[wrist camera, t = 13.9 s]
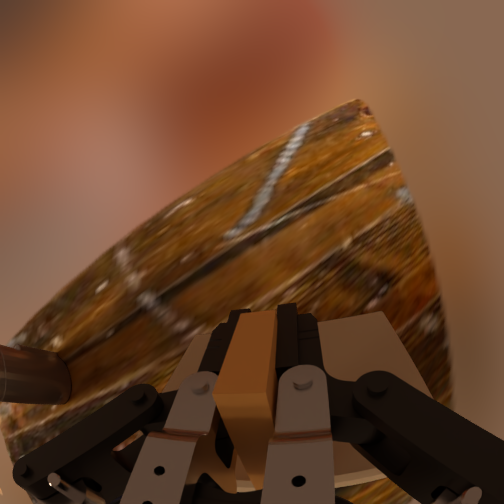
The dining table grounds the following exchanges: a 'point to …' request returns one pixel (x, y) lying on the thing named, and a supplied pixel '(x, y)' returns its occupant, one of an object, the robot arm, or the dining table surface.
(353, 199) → the dining table surface
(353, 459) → the tan box lid
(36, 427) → the dining table surface
